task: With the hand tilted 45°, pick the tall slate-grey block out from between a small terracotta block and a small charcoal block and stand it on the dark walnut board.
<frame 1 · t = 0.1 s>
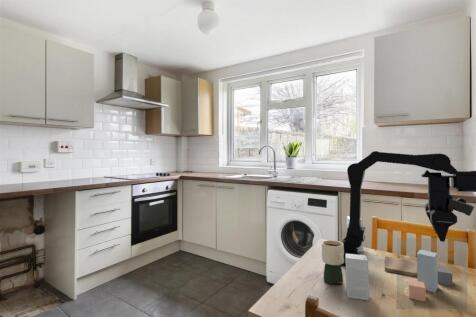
hand: (439, 237, 85), 15 cm above the table, tool pointing down, fingers open, 9 cm apart
character mug: (333, 281, 87), on the table
walnut board: (403, 268, 96), on the table
skincare box: (357, 296, 77), on the table
terracotta block: (416, 296, 76), on the table
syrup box: (355, 249, 116), on the table
slate block: (427, 287, 81), on the table
charcoal block: (443, 282, 85), on the table
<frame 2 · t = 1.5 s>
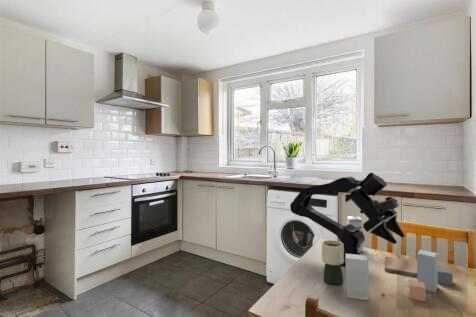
hand: (399, 239, 87), 14 cm above the table, tool tilted 45°, fingers open, 9 cm apart
nothing on the table moved.
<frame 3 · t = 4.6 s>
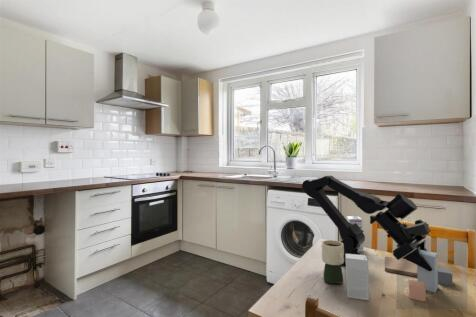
hand: (432, 268, 80), 7 cm above the table, tool tilted 45°, fingers closed on slate block, 4 cm apart
slate block: (427, 287, 81), on the table, touching gripper
everything else where it was.
when the fingers open (9 cm above the table, at t = 9.5 s): slate block drops 1 cm, resting on walnut board.
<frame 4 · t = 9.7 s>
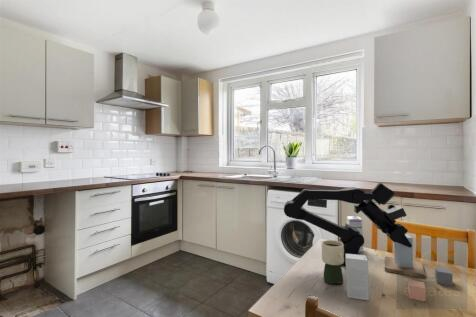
hand: (407, 243, 95), 9 cm above the table, tool tilted 45°, fingers open, 6 cm apart
slate block: (403, 264, 96), point 1 cm above the table, touching walnut board
everything else where it was.
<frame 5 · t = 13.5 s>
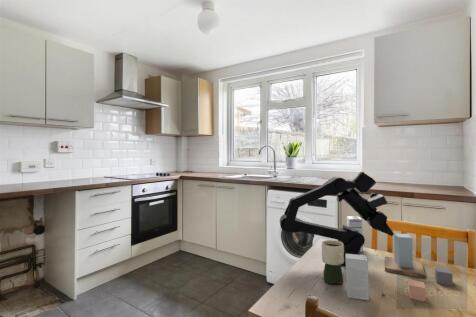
hand: (388, 231, 97), 14 cm above the table, tool tilted 45°, fingers open, 9 cm apart
nothing on the table moved.
at the end: slate block inside the target area on the walnut board (0.1 cm from its centre), point 1.2 cm above the walnut board's base; slate block tilted 0°; the gripper is holding nothing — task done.
